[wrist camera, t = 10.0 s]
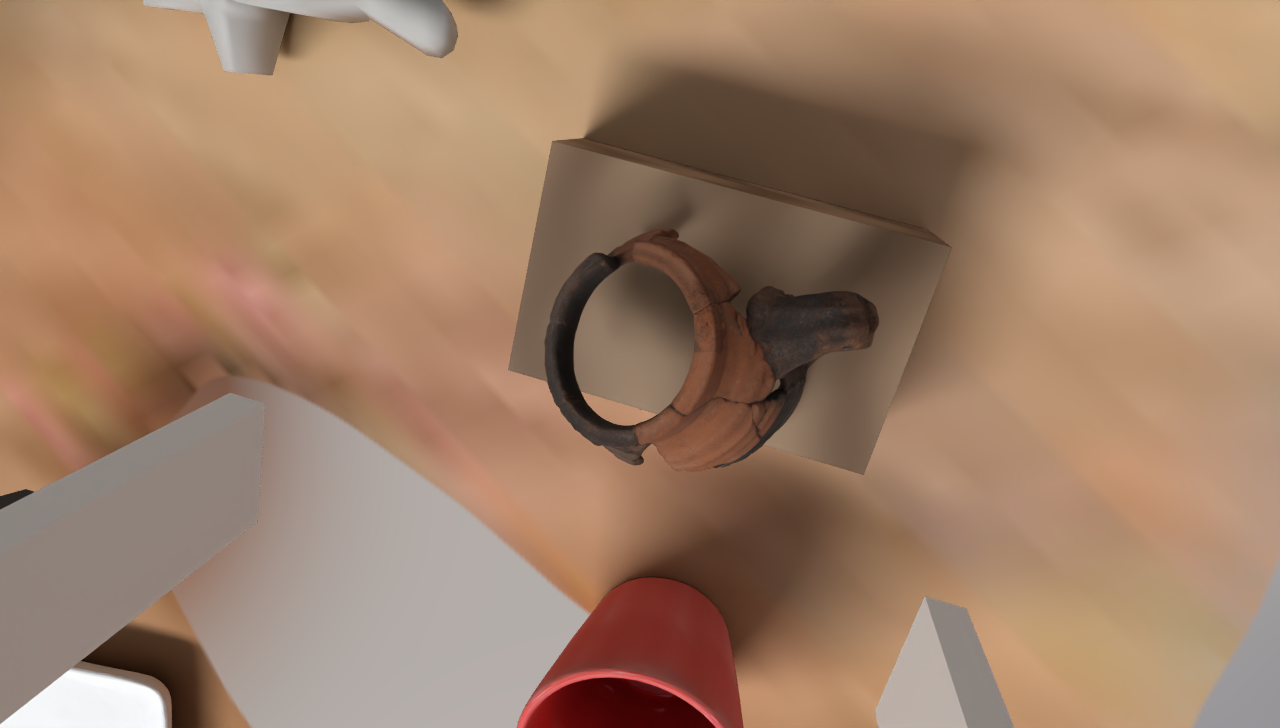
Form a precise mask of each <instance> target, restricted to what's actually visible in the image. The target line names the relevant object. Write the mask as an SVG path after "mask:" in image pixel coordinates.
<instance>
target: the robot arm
mask: <svg viewBox="0 0 1280 728" xmlns="http://www.w3.org/2000/svg"><path fill="white" fill-rule="evenodd" d="M264 418H265V403H262V402H259V401H256V400H252V399H249V398H245V397H242V396H239V395H235V394H232V393H229V394H227V395H225V396H223V397H221V398H219V399H217V400H215V401H213V402H211V403H209V404H207V405H205V406H203V407H201V408H199V409H197V410H195V411H193V412H191V413H189V414H187V415H186V416H184V417H182V418H180V419H178V420H176V421H174V422H172V423H170V424H168V425H166V426H164V427H162V428H160V429H158V430H156V431H154V432H152V433H150V434H148V435H146V436H144V437H142V438H140V439H138V440H136V441H134V442H132V443H130V444H128V445H126V446H124V447H123V448H121V449H119V450H117V451H115V452H113V453H111V454H109V455H107V456H105V457H103V458H101V459H99V460H97V461H95V462H93V463H91V464H89V465H87V466H85V467H83V468H81V469H79V470H77V471H75V472H73V473H71V474H69V475H67V476H65V477H63V478H62V479H60V480H58V481H56V482H54V483H52V484H50V485H48V486H46V487H44V488H42V489H40V490H38V491H36V492H33V491H30V490H27V489H25V490H21V491H18V492H14V493H10V494H7V495H3V496H0V724H1V723H2V722H4V721H5V720H6V719H7V718H9V717H10V716H11V715H13V714H14V713H15V712H16V711H18V710H19V709H20V708H21V707H23V706H24V705H25V704H27V703H28V702H29V701H30V700H32V699H33V698H34V697H35V696H37V695H38V694H39V693H41V692H42V691H43V690H44V689H46V688H47V687H48V686H49V685H51V684H52V683H53V682H54V681H56V680H57V679H58V678H60V677H61V676H62V675H63V674H65V673H66V672H67V671H68V670H70V669H71V668H72V667H74V666H75V665H76V664H77V663H79V662H80V661H81V660H82V659H84V658H85V657H86V656H88V655H89V654H90V653H91V652H93V651H94V650H95V649H96V648H98V647H99V646H100V645H101V644H103V643H104V642H105V641H107V640H108V639H109V638H110V637H112V636H113V635H114V634H115V633H117V632H118V631H119V630H121V629H122V628H123V627H124V626H126V625H127V624H128V623H129V622H131V621H132V620H133V619H135V618H136V617H137V616H138V615H140V614H141V613H142V612H143V611H145V610H146V609H147V608H149V607H150V606H151V605H152V604H154V603H155V602H156V601H157V600H159V599H160V598H161V597H162V596H164V595H165V594H166V593H168V592H169V591H170V590H171V589H173V588H174V587H175V586H176V585H178V584H179V583H180V582H181V581H183V580H184V579H185V578H186V577H188V576H189V575H190V574H192V573H193V572H194V571H196V570H197V569H198V568H199V567H200V566H202V565H203V564H204V563H206V562H207V561H208V560H209V559H211V558H212V557H213V556H215V555H216V554H217V553H218V552H220V551H221V550H222V549H223V548H225V547H226V546H227V545H229V544H230V543H231V542H232V541H234V540H235V539H236V538H237V537H239V536H240V535H241V534H242V533H244V532H245V531H246V530H248V529H249V528H250V527H251V526H253V525H254V524H255V523H256V522H258V512H259V497H260V481H261V465H262V448H263V434H264ZM875 712H876V717H877V723H878V728H1014V726H1013V723H1012V721H1011V718H1010V716H1009V713H1008V711H1007V708H1006V706H1005V703H1004V701H1003V698H1002V696H1001V693H1000V691H999V688H998V686H997V683H996V681H995V678H994V676H993V673H992V671H991V668H990V666H989V663H988V661H987V658H986V656H985V653H984V651H983V648H982V646H981V643H980V641H979V638H978V636H977V633H976V631H975V629H974V626H973V624H972V621H971V619H970V616H969V614H968V611H967V609H966V608H963V607H960V606H956V605H953V604H950V603H946V602H943V601H939V600H936V599H933V598H929V597H926V596H925V597H924V599H923V602H922V604H921V606H920V609H919V611H918V613H917V616H916V618H915V620H914V622H913V625H912V627H911V629H910V632H909V634H908V636H907V639H906V641H905V643H904V645H903V648H902V650H901V652H900V655H899V657H898V659H897V662H896V664H895V666H894V668H893V671H892V673H891V675H890V678H889V680H888V682H887V685H886V687H885V689H884V691H883V694H882V696H881V698H880V701H879V703H878V705H877V708H876V710H875Z"/></svg>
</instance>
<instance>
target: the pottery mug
mask: <svg viewBox="0 0 1280 728" xmlns="http://www.w3.org/2000/svg"><path fill="white" fill-rule="evenodd" d="M678 237H679V234H678V232H677V231H675V230H674V229H672V228H668V229H664V230H662V229H659V230H653V231H650V232H647V233H644V234H641V235H639V236H636V237H634V238H632V239H631V240H629V241H627V242H625V243H624V244H623V245H622V246H620V247H617V248H615V249H614V250H613V251H612V252H610V253H609V254H608V255H605V254H603V253H593V254H591V255H589V256H588V257H587V258H586V259H585V260H584V261H583V262H581V264H580V265H579V266H578V267H577V268H576V269H575V270H574V272H573V273H572V275H571V276H570V277H569V278H568V279H567V280H566V282H565V283H564V284H563V286H562V288H561V290H560V291H559V293H558V295H557V297H556V299H555V302H554V305H553V308H552V311H551V314H550V323H549V325H548V326H547V331H546V337H545V340H544V345H545V362H544V365H545V371H546V376H547V383H548V385H549V389H550V392H551V394H552V396H553V399H554V402H555V404H556V405H557V406H558V407H559V408H560V411H561V413H562V414H563V416H564V417H565V418H566V419H567V420H568V422H570V423H571V425H572V426H573V428H574V429H575V430H577V431H578V432H580V433H581V434H582V435H583V436H584V437H585V438H587V439H588V440H589V441H591V442H592V443H593V444H594V445H597V446H601V445H603V446H604V447H605V448H606V449H608V450H609V451H610V452H611V453H613V454H614V455H615V456H616V457H617V458H618V459H621V460H622V461H625V462H627V463H629V464H631V465H640V464H642V463H643V462H644V459H643V457H642V456H641V455H642V453H643V451H644V450H645V449H646V448H647V447H648V446H649V445H650V444H654V445H655V446H656V447H657V450H658V452H659V454H660V455H661V456H663V457H664V459H665V461H666V462H667V463H668V464H669V465H670V466H671V467H672V468H673V469H674V470H675V471H679V470H686V471H691V472H697V471H702V470H706V469H710V468H712V467H713V468H717V467H725V466H729V465H731V464H733V463H736V462H738V461H741V460H743V459H745V458H746V457H748V456H749V455H750V454H752V453H754V452H755V451H756V450H758V449H759V448H760V447H761V446H763V445H764V444H765V442H766V441H767V440H768V439H770V438H771V437H772V435H773V434H774V433H775V432H777V431H778V430H779V429H780V428H781V427H782V426H783V425H784V424H785V423H786V421H787V420H788V419H789V418H790V416H791V415H792V413H793V412H794V410H795V409H796V407H797V405H798V403H799V401H800V399H801V396H802V393H803V388H804V385H805V382H806V374H807V370H808V368H809V367H810V366H811V365H812V364H813V363H814V362H815V361H816V360H817V359H819V358H820V357H822V356H823V355H825V354H828V353H832V352H841V351H851V350H862V349H867V348H869V347H870V346H871V345H872V342H873V338H874V333H875V331H876V329H877V328H878V325H879V317H878V313H877V309H876V307H875V305H874V304H873V303H872V302H870V301H869V300H867V299H866V298H864V297H862V296H861V295H860V294H858V293H854V292H850V291H831V292H823V293H817V294H806V295H800V296H793V295H792V294H790V295H789V294H786V295H785V293H784V291H783V290H780V289H776V288H774V287H773V286H766V287H764V288H762V289H761V290H760V291H759V292H758V293H756V294H754V295H753V296H752V297H751V298H750V299H749V301H748V304H747V307H746V316H747V318H746V319H745V318H744V317H743V316H742V315H741V314H740V313H739V312H738V311H736V310H735V308H734V307H733V306H732V304H731V303H730V302H731V300H733V299H734V297H736V296H737V295H738V294H739V293H740V291H741V288H740V287H739V285H738V284H737V282H736V281H735V280H734V279H732V278H731V277H730V275H729V274H728V273H726V272H725V271H724V270H723V269H722V268H721V267H719V266H718V265H717V263H716V262H714V261H713V260H712V259H711V258H710V257H708V256H707V255H705V254H703V253H701V252H700V251H698V250H697V249H695V248H693V247H691V246H690V245H688V244H686V243H685V242H683V241H680V240H677V239H678ZM634 261H636V262H637V263H640V264H644V265H648V266H653V267H655V268H657V269H659V270H662V271H663V272H665V273H666V274H668V275H669V276H670V277H671V278H672V279H673V280H674V281H675V283H676V284H677V285H678V286H679V287H680V289H681V291H682V292H683V294H684V296H685V298H686V300H687V302H688V304H689V306H690V309H691V311H692V313H693V314H694V327H695V342H694V353H693V358H692V361H691V366H690V369H689V372H688V375H687V377H686V379H685V381H684V384H683V386H682V387H681V389H680V391H679V393H678V394H677V396H676V397H675V398H674V399H673V401H672V402H671V404H670V405H668V406H667V407H666V408H665V409H664V410H663V411H662V412H660V413H659V414H658V415H656V416H655V417H653V418H651V419H649V420H647V421H644V422H641V423H638V424H636V425H631V426H622V425H617V424H613V423H611V422H609V421H606V420H605V419H603V418H601V417H600V416H599V415H598V414H596V413H595V412H594V411H593V410H592V409H591V407H590V406H588V404H587V403H586V401H585V400H584V397H583V396H582V393H581V391H580V388H579V385H578V383H577V380H576V376H575V372H574V340H575V334H576V331H577V328H578V324H579V321H580V317H581V314H582V312H583V309H584V307H585V305H586V303H587V301H588V299H589V298H590V296H591V294H592V293H593V291H594V290H595V289H596V288H597V286H598V285H599V284H600V283H601V282H602V281H603V280H604V279H605V278H606V277H608V276H609V275H610V274H611V273H613V272H615V271H616V270H617V269H618V268H619V267H620V266H622V265H625V264H627V263H631V262H634ZM777 379H779V380H780V386H779V387H778V389H776V390H774V391H773V392H772V390H773V388H774V386H775V383H776V381H777Z"/></svg>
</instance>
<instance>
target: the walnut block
mask: <svg viewBox="0 0 1280 728" xmlns="http://www.w3.org/2000/svg"><path fill="white" fill-rule="evenodd" d="M668 228H672V229H674V230H675V231H677V232H678V234H679V237H678V239H677V240H680V241H683V242H685V243H686V244H688V245H690V246H691V247H693V248H695V249H697V250H698V251H700V252H701V253H703V254H705V255H707V256H708V257H710V258H711V259H712V260H713V261H714V262H716V263H717V265H718V266H719V267H721V268H722V269H723V270H724V271H725V272H726V273H728V274H729V275H730V277H731V278H732V279H734V280H735V281H736V282H737V284H738V285H739V287H740V288H741V291H740V293H739V294H738V295H737V296H736V297H734V299H733V300H731V302H730V303H731V304H732V306H733V307H734V308H735V310H736V311H738V312H739V313H740V314H741V315H742V316H743V317H744V318H745V319H746V318H747V316H746V307H747V304H748V301H749V299H750V298H751V297H752V296H753V295H754V294H756V293H758V292H759V291H760V290H761V289H762V288H764V287H766V286H773V287H774V288H776V289H780V290H783V291H784V293H785V295H786V294H789V295H790V294H792V295H793V296H800V295H806V294H817V293H823V292H831V291H850V292H854V293H858V294H860V295H861V296H862V297H864V298H866V299H867V300H869V301H870V302H872V303H873V304H874V305H875V307H876V309H877V313H878V317H879V325H878V328H877V329H876V331H875V333H874V338H873V342H872V345H871V346H870V347H869V348H867V349H862V350H851V351H841V352H832V353H828V354H825V355H823V356H822V357H820V358H819V359H817V360H816V361H815V362H814V363H813V364H812V365H811V366H810V367H809V368H808V370H807V374H806V382H805V385H804V388H803V393H802V396H801V399H800V401H799V403H798V405H797V407H796V409H795V410H794V412H793V413H792V415H791V416H790V418H789V419H788V420H787V421H786V423H785V424H784V425H783V426H782V427H781V428H780V429H779V430H778V431H777V432H775V433H774V434H773V435H772V437H771V438H770V439H768V440H767V441H766V442H765V444H764V446H768V447H771V448H774V449H778V450H781V451H784V452H788V453H791V454H795V455H798V456H801V457H805V458H808V459H812V460H815V461H818V462H822V463H825V464H829V465H832V466H835V467H839V468H842V469H846V470H849V471H852V472H856V473H859V474H862V475H864V473H865V470H866V468H867V465H868V462H869V460H870V457H871V455H872V452H873V449H874V447H875V444H876V442H877V439H878V437H879V434H880V431H881V429H882V426H883V424H884V421H885V419H886V416H887V413H888V411H889V408H890V406H891V403H892V400H893V398H894V395H895V393H896V390H897V388H898V385H899V382H900V380H901V377H902V375H903V372H904V370H905V367H906V364H907V362H908V359H909V357H910V354H911V351H912V349H913V346H914V344H915V341H916V339H917V336H918V333H919V331H920V328H921V326H922V323H923V321H924V318H925V315H926V313H927V310H928V308H929V305H930V302H931V300H932V297H933V295H934V292H935V290H936V287H937V284H938V282H939V279H940V277H941V274H942V272H943V269H944V266H945V264H946V261H947V259H948V256H949V253H950V251H951V248H952V247H950V246H949V245H948V244H946V243H945V242H944V241H942V240H941V239H939V238H938V237H937V236H935V235H934V234H932V233H931V232H930V231H928V230H926V229H923V228H919V227H915V226H911V225H908V224H904V223H900V222H896V221H892V220H889V219H885V218H881V217H877V216H874V215H870V214H866V213H862V212H859V211H855V210H851V209H847V208H843V207H840V206H836V205H832V204H828V203H825V202H821V201H817V200H813V199H809V198H806V197H802V196H798V195H794V194H791V193H787V192H783V191H779V190H776V189H772V188H768V187H764V186H760V185H757V184H753V183H749V182H745V181H742V180H738V179H734V178H730V177H726V176H723V175H719V174H715V173H711V172H708V171H704V170H700V169H696V168H693V167H689V166H685V165H681V164H677V163H674V162H670V161H666V160H662V159H659V158H655V157H651V156H647V155H643V154H640V153H636V152H632V151H628V150H625V149H621V148H617V147H613V146H610V145H606V144H602V143H598V142H594V141H591V140H587V139H583V138H581V139H570V140H558V141H552V145H551V150H550V155H549V161H548V166H547V171H546V176H545V181H544V187H543V192H542V197H541V202H540V207H539V212H538V218H537V223H536V228H535V233H534V238H533V243H532V249H531V254H530V259H529V264H528V269H527V275H526V280H525V285H524V290H523V295H522V300H521V306H520V311H519V316H518V321H517V326H516V331H515V337H514V342H513V347H512V352H511V357H510V363H509V368H508V370H510V371H513V372H517V373H520V374H523V375H527V376H530V377H534V378H537V379H540V380H544V381H547V376H546V371H545V365H544V362H545V345H544V340H545V337H546V331H547V326H548V325H549V323H550V314H551V311H552V308H553V305H554V302H555V299H556V297H557V295H558V293H559V291H560V290H561V288H562V286H563V284H564V283H565V282H566V280H567V279H568V278H569V277H570V276H571V275H572V273H573V272H574V270H575V269H576V268H577V267H578V266H579V265H580V264H581V262H583V261H584V260H585V259H586V258H587V257H588V256H589V255H591V254H593V253H603V254H605V255H608V254H609V253H610V252H612V251H613V250H614V249H615V248H617V247H620V246H622V245H623V244H624V243H625V242H627V241H629V240H631V239H632V238H634V237H636V236H639V235H641V234H644V233H647V232H650V231H653V230H659V229H662V230H664V229H668ZM694 342H695V327H694V314H693V313H692V311H691V309H690V306H689V304H688V302H687V300H686V298H685V296H684V294H683V292H682V291H681V289H680V287H679V286H678V285H677V284H676V283H675V281H674V280H673V279H672V278H671V277H670V276H669V275H668V274H666V273H665V272H663V271H662V270H659V269H657V268H655V267H653V266H648V265H644V264H640V263H637V262H636V261H634V262H631V263H627V264H625V265H622V266H620V267H619V268H618V269H617V270H616V271H615V272H613V273H611V274H610V275H609V276H608V277H606V278H605V279H604V280H603V281H602V282H601V283H600V284H599V285H598V286H597V288H596V289H595V290H594V291H593V293H592V294H591V296H590V298H589V299H588V301H587V303H586V305H585V307H584V309H583V312H582V314H581V317H580V321H579V324H578V328H577V331H576V334H575V340H574V372H575V376H576V380H577V383H578V385H579V388H580V391H581V392H584V393H588V394H591V395H595V396H598V397H601V398H605V399H608V400H612V401H615V402H618V403H622V404H625V405H629V406H632V407H635V408H639V409H642V410H646V411H649V412H652V413H656V414H659V413H660V412H662V411H663V410H664V409H665V408H666V407H667V406H668V405H670V404H671V402H672V401H673V399H674V398H675V397H676V396H677V394H678V393H679V391H680V389H681V387H682V386H683V384H684V381H685V379H686V377H687V375H688V372H689V369H690V366H691V361H692V358H693V353H694ZM779 386H780V380H779V379H777V381H776V383H775V386H774V388H773V390H772V392H773V391H774V390H776V389H778V387H779Z"/></svg>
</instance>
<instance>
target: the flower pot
mask: <svg viewBox="0 0 1280 728" xmlns="http://www.w3.org/2000/svg"><path fill="white" fill-rule="evenodd" d="M517 728H743V721H742V713H741V705H740V697H739V690H738V683H737V677H736V670H735V664H734V659H733V653H732V648H731V643H730V638H729V633H728V629H727V626H726V624H725V621H724V619H723V617H722V615H721V614H720V612H719V611H718V609H717V608H716V607H715V605H714V604H713V603H712V602H711V601H710V600H709V599H708V598H707V597H706V596H704V595H703V594H702V593H700V592H699V591H698V590H696V589H694V588H692V587H690V586H689V585H687V584H684V583H682V582H679V581H675V580H671V579H664V578H655V577H647V578H639V579H634V580H631V581H628V582H625V583H623V584H621V585H619V586H618V587H616V588H615V589H613V590H611V591H610V592H609V593H608V594H607V595H606V596H605V597H604V598H603V599H602V601H601V602H600V603H599V605H598V606H597V607H596V609H595V610H594V611H593V612H592V614H591V615H590V616H589V617H588V619H587V620H586V621H585V622H584V624H583V625H582V626H581V628H580V629H579V630H578V632H577V633H576V634H575V635H574V637H573V638H572V640H571V641H570V642H569V644H568V645H567V647H566V648H565V649H564V651H563V652H562V653H561V655H560V656H559V658H558V659H557V660H556V662H555V663H554V664H553V666H552V667H551V669H550V670H549V671H548V673H547V674H546V675H545V677H544V678H543V680H542V681H541V683H540V684H539V686H538V687H537V688H536V690H535V691H534V693H533V694H532V696H531V698H530V699H529V701H528V702H527V704H526V706H525V708H524V709H523V711H522V714H521V716H520V718H519V721H518V725H517Z"/></svg>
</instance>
